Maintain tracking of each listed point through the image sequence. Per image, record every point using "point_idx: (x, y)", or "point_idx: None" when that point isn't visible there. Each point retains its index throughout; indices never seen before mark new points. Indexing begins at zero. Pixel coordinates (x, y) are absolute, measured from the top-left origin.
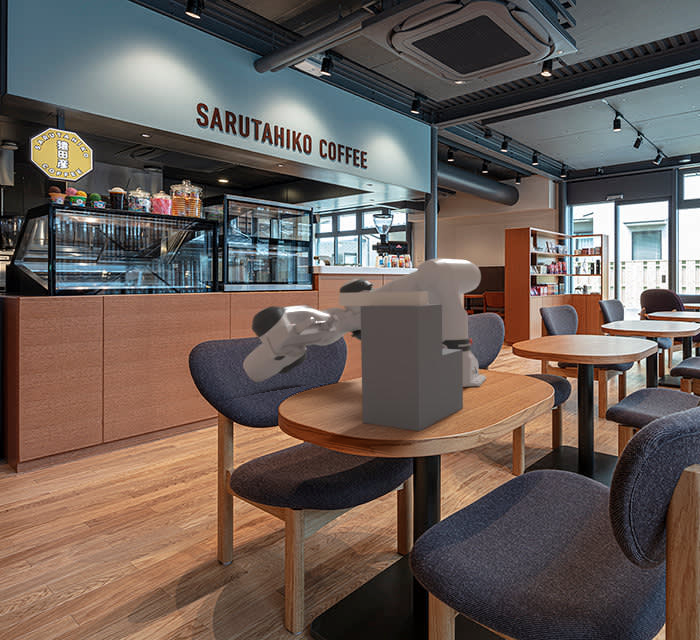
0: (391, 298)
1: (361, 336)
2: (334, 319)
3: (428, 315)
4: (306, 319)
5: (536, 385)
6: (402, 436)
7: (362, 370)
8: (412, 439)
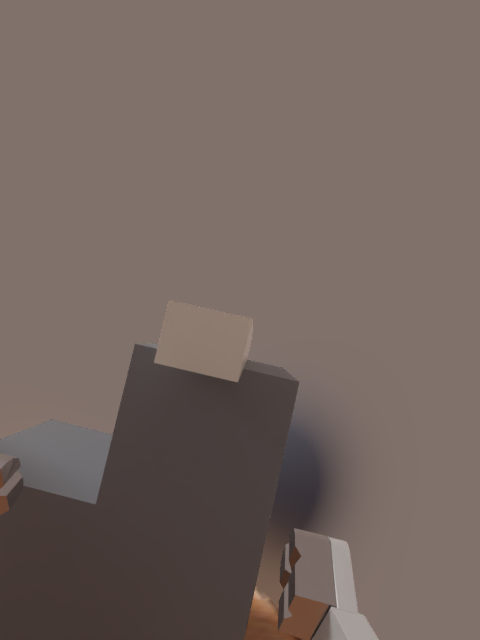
0: (249, 346)
1: (278, 476)
2: (17, 483)
3: None
4: (353, 580)
5: None
6: (269, 633)
7: (254, 587)
8: (276, 614)
